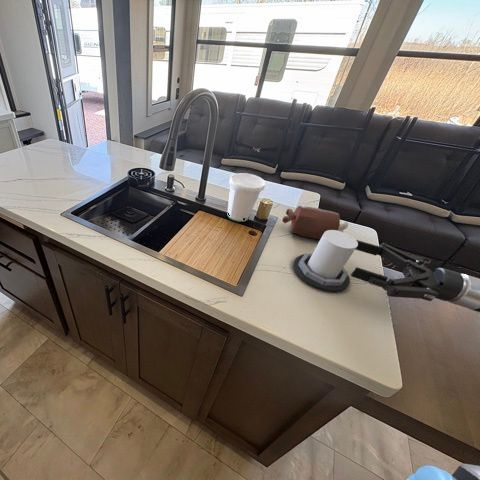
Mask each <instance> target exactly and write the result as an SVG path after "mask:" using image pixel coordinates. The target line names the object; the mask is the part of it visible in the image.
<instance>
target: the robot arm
mask: <svg viewBox="0 0 480 480" xmlns="http://www.w3.org/2000/svg"><path fill="white" fill-rule="evenodd" d="M356 241H357V242H358V246H357V247H356V249H355V250H354V251H359V252H362V253H365V254H370V255H373V256H379V257H381V258H382V259H384V260H386V261H387V262H388V263H390V264H392V265H393V266H394V267H396V268H397V269H398V271H399V272H401V273H402V275H403V276H404V277H402V278H394V279H393V278H392V277H390V278H388V276H386V275H382V274H380V273H377V272H373V271H370V270H367V269H364V268H362V267H355V268H354V270H353V271H352V272H351V274H350V277H351V278H354V279H357V280H361V281H364V282H367V283H369V284H371V285H374V286H376V287H379V288H382V290H383V291H386V296H388V297H391V298H404V299H419V300H420V299H421V300H424V301H428V302H432V301H433V300H434V299H437V300H440V301H443V302H447V303H450V304H453V305H455V306H459V307H462V308H466V309H468V310H471V311H474V312H476V313H480V278H478V277H476V276H472V275H468V274H465V273H460V272H457V271H454V270H450V269H447V268H444V267H437V268H432V269H430V268H428V267H425V266H424V264H426V260H424V259H421V258H418V257H415V256H413V255H411V254H409V253H406V252H405V251H402V250H400V249H398V248H396V247H394V246H392V245H390V244H388V243H385V242H382V243H381V244H380V245H377V244H372V243H369V242H365V241H363V240H359V239H356ZM406 478H407V479H406V480H480V465H475V464H469V463H461V464H460V465H459V466H458V467H456V469H455V470H454V472H453V473H452V474H451V473H449V472H448V471H446V470H444V469H441V468H439V467H437V466H434V465H424V466H420V467H419V468H417V470H416V471H415V473H411V474H410V475H409V476H408V477H406Z"/></svg>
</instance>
